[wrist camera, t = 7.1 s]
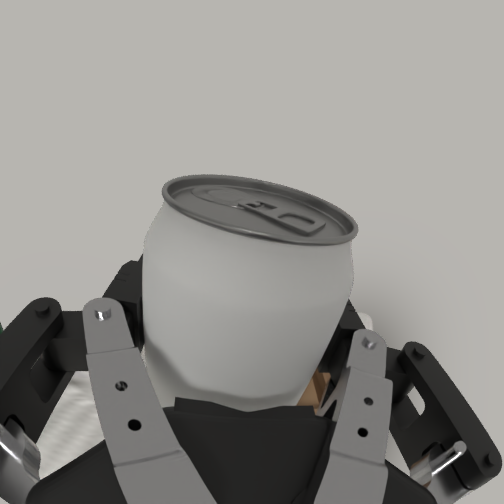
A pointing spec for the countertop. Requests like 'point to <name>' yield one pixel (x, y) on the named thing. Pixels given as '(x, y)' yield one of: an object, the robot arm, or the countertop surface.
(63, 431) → the countertop surface
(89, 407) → the countertop surface
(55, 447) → the countertop surface
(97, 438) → the countertop surface
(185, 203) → the can
